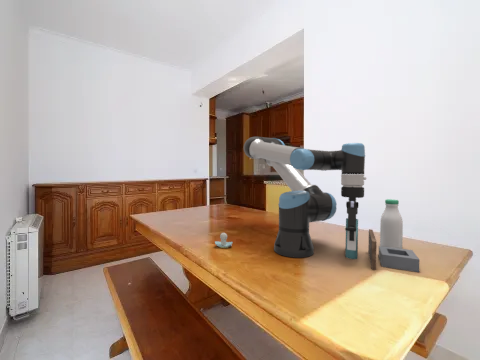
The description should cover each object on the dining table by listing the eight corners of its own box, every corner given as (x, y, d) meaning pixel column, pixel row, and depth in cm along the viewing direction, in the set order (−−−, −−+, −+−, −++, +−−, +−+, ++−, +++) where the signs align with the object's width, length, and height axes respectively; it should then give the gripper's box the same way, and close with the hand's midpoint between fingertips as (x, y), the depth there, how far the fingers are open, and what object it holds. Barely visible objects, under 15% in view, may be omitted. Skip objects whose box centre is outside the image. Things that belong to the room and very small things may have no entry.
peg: (345, 258, 84) (345, 219, 83) (345, 254, 87) (346, 217, 87) (357, 259, 82) (358, 220, 82) (357, 256, 86) (358, 218, 85)
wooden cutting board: (371, 269, 74) (372, 241, 74) (368, 252, 90) (368, 229, 90) (375, 269, 73) (376, 241, 73) (371, 252, 90) (372, 229, 89)
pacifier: (216, 244, 100) (214, 248, 94) (216, 230, 100) (214, 233, 94) (233, 245, 99) (232, 249, 93) (233, 230, 99) (232, 233, 93)
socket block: (381, 266, 76) (381, 254, 76) (378, 256, 85) (378, 246, 85) (419, 272, 72) (419, 259, 72) (411, 261, 81) (412, 250, 81)
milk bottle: (406, 251, 91) (407, 201, 90) (384, 250, 92) (385, 200, 92) (396, 245, 98) (397, 199, 98) (377, 244, 100) (377, 198, 99)
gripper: (366, 188, 71) (364, 256, 72) (363, 185, 93) (362, 237, 94) (339, 187, 74) (338, 253, 75) (342, 184, 97) (341, 235, 97)
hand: (351, 244), depth 84 cm, fingers open, 13 cm apart
